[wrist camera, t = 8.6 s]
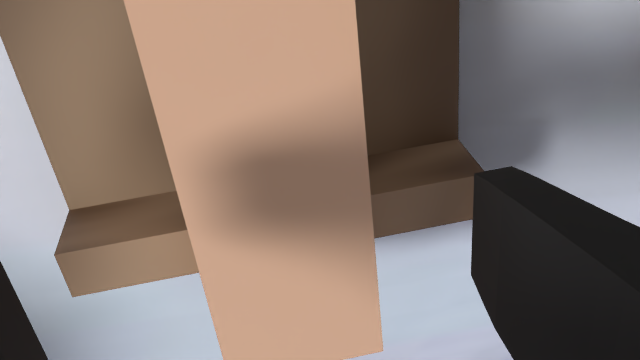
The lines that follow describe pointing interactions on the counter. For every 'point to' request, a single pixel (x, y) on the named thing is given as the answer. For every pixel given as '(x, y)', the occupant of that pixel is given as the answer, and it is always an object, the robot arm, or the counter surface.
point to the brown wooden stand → (149, 152)
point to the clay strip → (269, 168)
